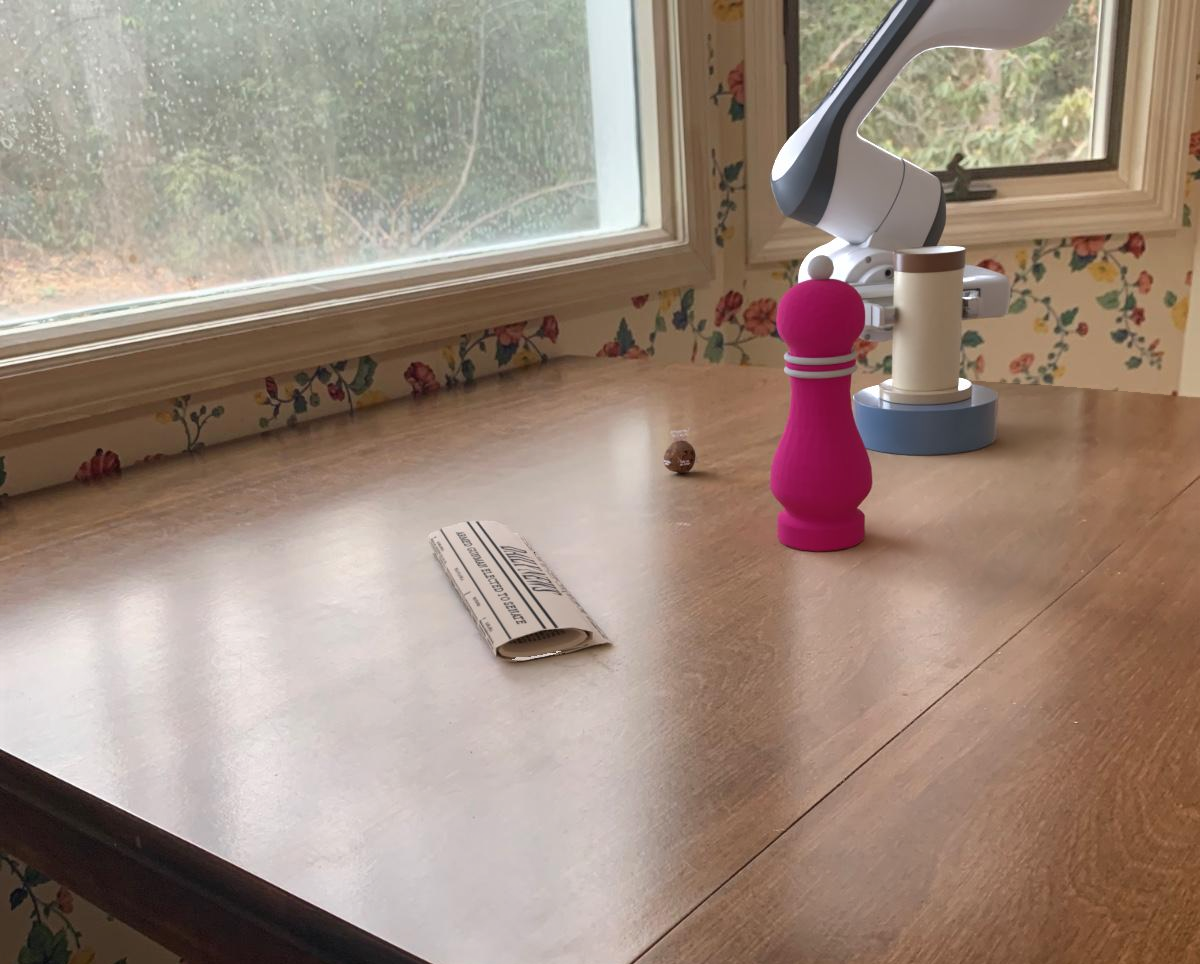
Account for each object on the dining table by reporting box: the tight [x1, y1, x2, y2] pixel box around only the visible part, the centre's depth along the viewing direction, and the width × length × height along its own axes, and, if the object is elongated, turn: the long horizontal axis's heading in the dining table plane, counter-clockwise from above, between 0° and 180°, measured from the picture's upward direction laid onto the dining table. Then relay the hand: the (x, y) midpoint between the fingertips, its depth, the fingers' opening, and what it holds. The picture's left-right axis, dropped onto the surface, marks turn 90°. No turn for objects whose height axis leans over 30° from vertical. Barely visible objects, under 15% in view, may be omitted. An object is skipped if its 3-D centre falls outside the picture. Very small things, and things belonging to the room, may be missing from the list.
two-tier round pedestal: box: [852, 377, 1000, 456], centre depth 112 cm, size 13×13×5 cm
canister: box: [891, 245, 967, 391], centre depth 109 cm, size 6×6×12 cm
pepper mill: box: [769, 255, 873, 552], centre depth 85 cm, size 7×7×20 cm
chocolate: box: [662, 427, 699, 474], centre depth 106 cm, size 3×2×4 cm
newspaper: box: [427, 519, 613, 662], centre depth 82 cm, size 24×7×2 cm, turn 17°
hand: (931, 313), depth 108 cm, fingers open, 7 cm apart
